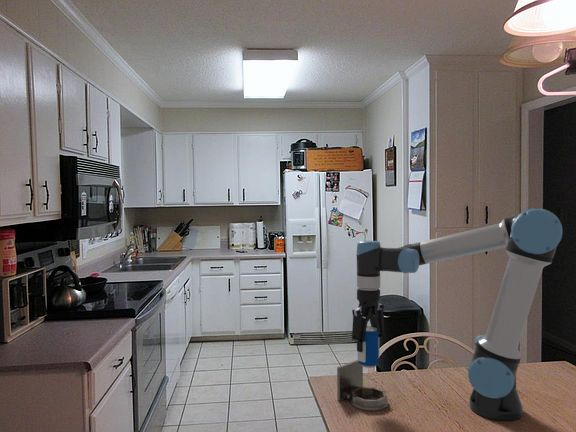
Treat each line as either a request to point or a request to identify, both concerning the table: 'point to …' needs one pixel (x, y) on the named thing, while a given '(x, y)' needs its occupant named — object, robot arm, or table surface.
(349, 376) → the cup bracket
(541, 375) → the table surface
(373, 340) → the beverage can
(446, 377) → the table surface
